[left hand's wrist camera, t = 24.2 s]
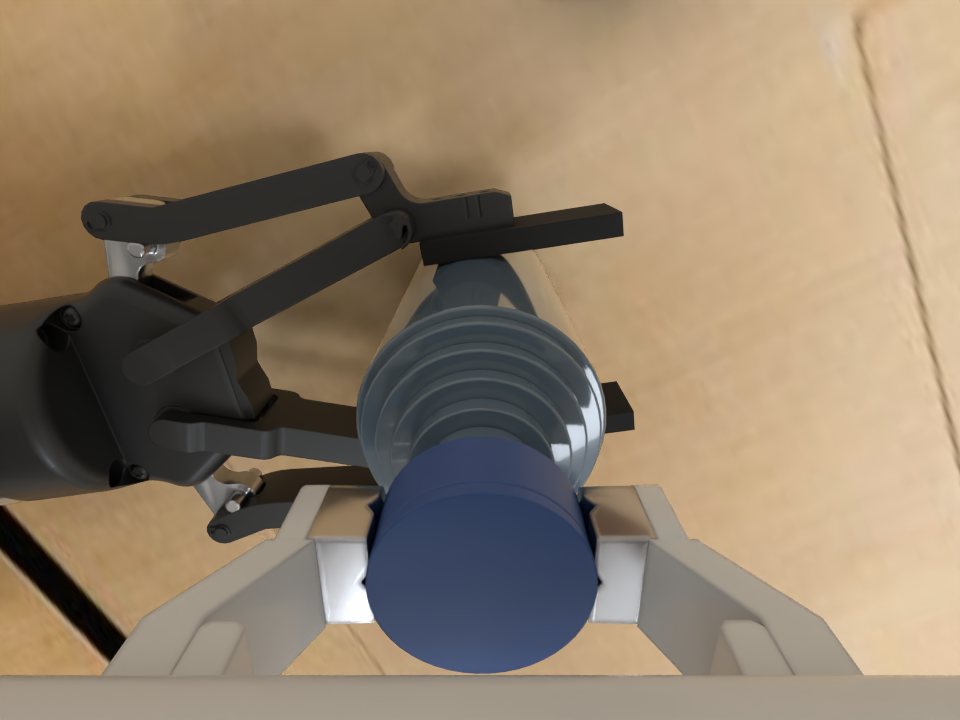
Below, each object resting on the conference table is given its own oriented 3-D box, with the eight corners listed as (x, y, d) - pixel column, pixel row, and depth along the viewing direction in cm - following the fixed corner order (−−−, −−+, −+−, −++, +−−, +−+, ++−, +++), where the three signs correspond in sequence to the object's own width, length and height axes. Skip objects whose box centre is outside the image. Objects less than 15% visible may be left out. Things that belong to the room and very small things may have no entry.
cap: (411, 410, 10) (397, 464, 8) (610, 466, 10) (635, 528, 8) (362, 571, 11) (342, 645, 9) (539, 615, 11) (549, 694, 10)
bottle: (387, 279, 26) (217, 531, 9) (493, 195, 25) (522, 311, 8) (469, 376, 28) (452, 733, 11) (572, 303, 27) (733, 585, 10)
